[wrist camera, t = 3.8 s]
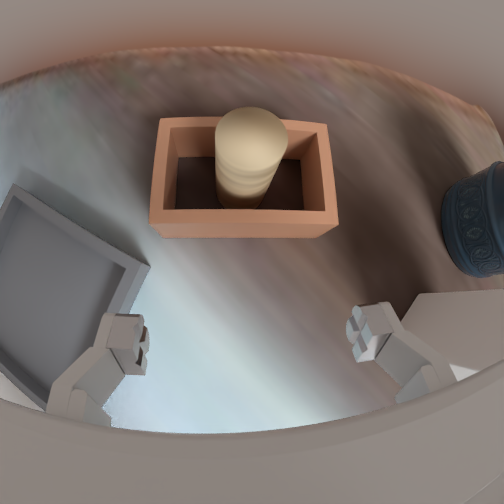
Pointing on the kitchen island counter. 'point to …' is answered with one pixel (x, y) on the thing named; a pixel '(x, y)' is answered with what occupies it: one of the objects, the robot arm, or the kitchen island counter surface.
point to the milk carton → (460, 327)
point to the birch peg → (247, 155)
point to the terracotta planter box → (242, 220)
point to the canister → (476, 222)
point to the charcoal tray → (54, 291)
